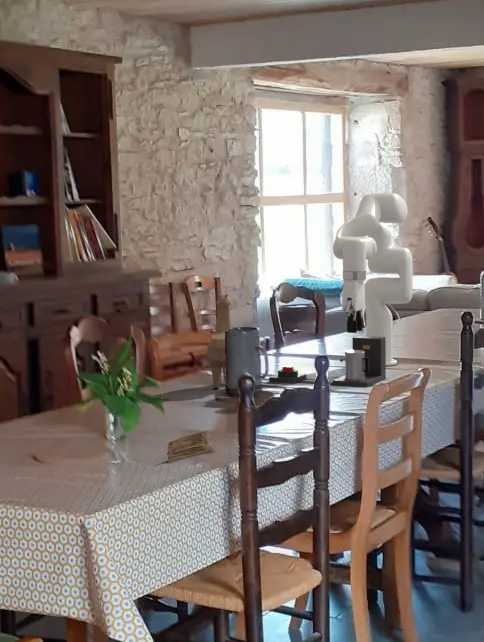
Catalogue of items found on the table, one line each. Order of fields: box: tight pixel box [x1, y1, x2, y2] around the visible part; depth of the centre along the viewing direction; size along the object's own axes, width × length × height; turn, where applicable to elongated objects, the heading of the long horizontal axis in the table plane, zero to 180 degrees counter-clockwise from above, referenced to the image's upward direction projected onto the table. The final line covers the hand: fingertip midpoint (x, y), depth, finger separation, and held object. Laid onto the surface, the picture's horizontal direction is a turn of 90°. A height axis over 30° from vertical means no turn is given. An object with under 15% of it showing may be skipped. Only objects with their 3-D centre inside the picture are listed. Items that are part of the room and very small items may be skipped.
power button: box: [281, 365, 294, 371], centre depth 393 cm, size 4×4×2 cm
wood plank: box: [166, 430, 213, 463], centre depth 284 cm, size 15×2×5 cm, turn 141°
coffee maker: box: [332, 335, 387, 388], centre depth 389 cm, size 19×12×14 cm, turn 153°
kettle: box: [339, 349, 369, 380], centre depth 385 cm, size 6×10×9 cm, turn 63°
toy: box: [206, 293, 233, 391], centre depth 382 cm, size 9×20×30 cm, turn 174°
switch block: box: [268, 368, 307, 385], centre depth 394 cm, size 11×9×4 cm
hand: (354, 331), depth 383 cm, fingers open, 4 cm apart
